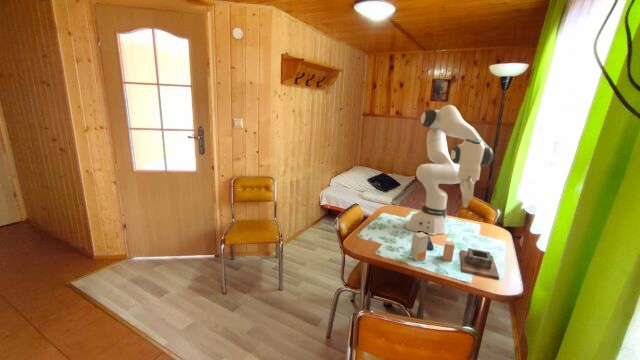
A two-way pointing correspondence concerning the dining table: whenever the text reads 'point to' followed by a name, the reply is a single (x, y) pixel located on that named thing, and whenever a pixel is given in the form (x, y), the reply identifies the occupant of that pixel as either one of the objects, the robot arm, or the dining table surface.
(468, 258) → the socket holder
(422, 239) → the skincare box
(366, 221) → the dining table surface
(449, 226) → the dining table surface
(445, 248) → the square peg
